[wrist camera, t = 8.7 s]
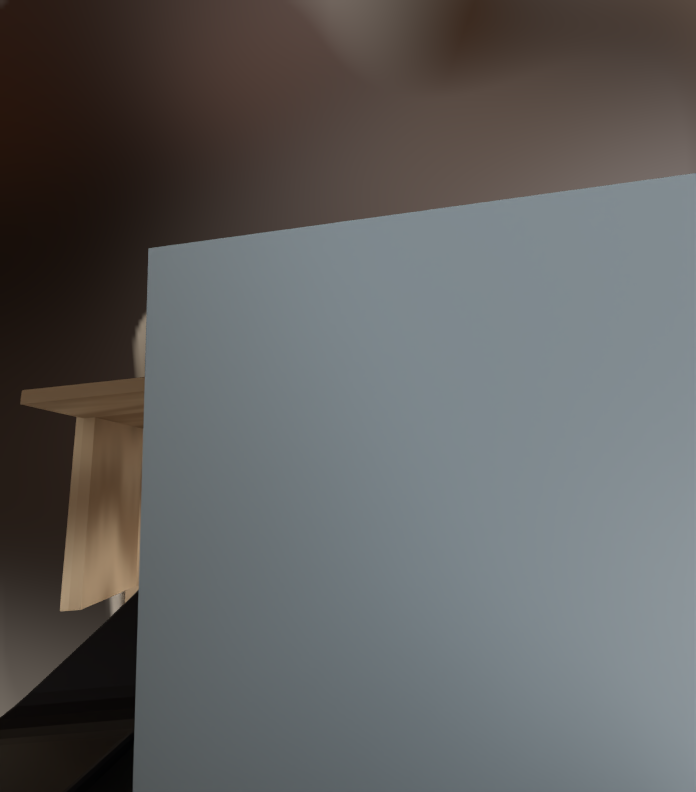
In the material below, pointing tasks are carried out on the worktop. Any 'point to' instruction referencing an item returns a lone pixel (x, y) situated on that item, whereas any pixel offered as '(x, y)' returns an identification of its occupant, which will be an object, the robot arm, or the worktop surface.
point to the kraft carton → (101, 487)
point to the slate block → (424, 502)
